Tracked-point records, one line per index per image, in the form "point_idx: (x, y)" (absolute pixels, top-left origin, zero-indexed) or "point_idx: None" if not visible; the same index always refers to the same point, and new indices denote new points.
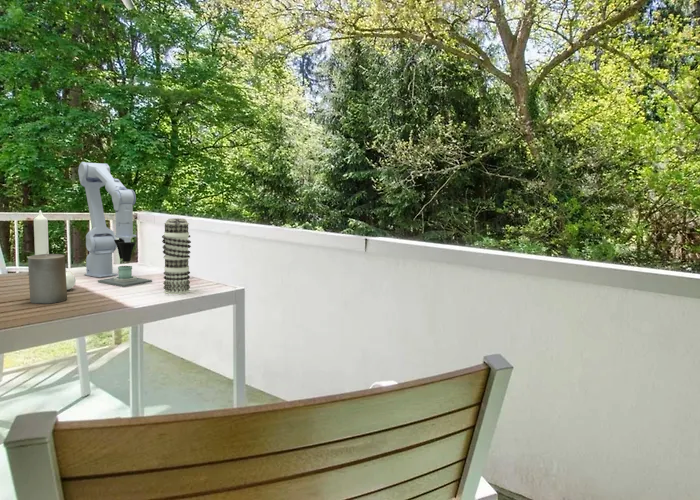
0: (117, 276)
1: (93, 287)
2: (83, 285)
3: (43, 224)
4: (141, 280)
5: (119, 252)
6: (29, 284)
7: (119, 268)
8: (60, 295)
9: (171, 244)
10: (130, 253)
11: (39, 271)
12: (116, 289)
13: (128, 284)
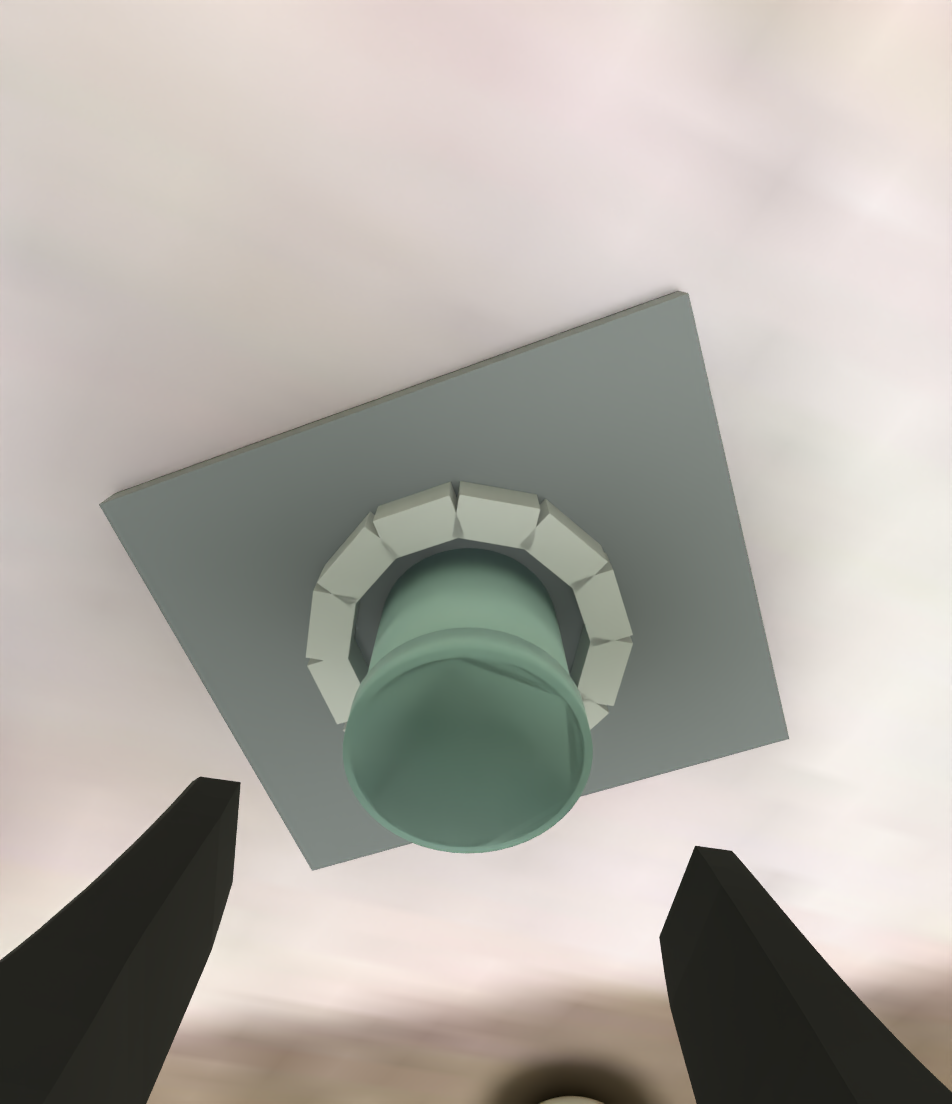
0: (331, 705)
1: (584, 940)
2: (419, 977)
3: None
4: (631, 455)
5: (168, 1035)
6: None
7: (503, 833)
8: None
9: None
10: (861, 1029)
11: None
12: (845, 817)
13: (773, 682)
